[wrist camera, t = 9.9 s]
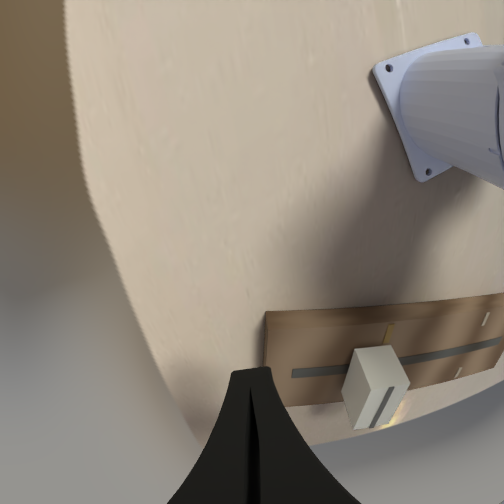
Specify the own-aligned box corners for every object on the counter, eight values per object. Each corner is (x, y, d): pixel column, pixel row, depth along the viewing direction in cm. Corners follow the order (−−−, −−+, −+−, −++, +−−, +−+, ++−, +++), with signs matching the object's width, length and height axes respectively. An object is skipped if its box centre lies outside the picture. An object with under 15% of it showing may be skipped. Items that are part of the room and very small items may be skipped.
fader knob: (390, 344, 22) (410, 384, 18) (373, 386, 24) (388, 424, 20) (354, 348, 22) (371, 391, 18) (341, 391, 24) (353, 431, 20)
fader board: (517, 290, 24) (528, 302, 22) (485, 356, 28) (494, 368, 26) (265, 311, 22) (268, 330, 21) (261, 390, 27) (263, 408, 25)
